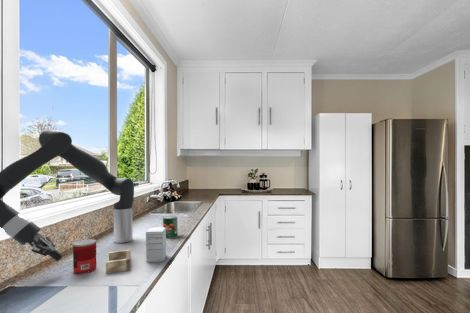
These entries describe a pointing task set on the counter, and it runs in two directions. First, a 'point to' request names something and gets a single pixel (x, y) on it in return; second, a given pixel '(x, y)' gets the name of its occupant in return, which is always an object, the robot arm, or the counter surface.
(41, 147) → the robot arm
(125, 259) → the wooden bracket
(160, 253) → the supplement box
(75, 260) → the canned food
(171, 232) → the canned tomato
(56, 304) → the counter surface
